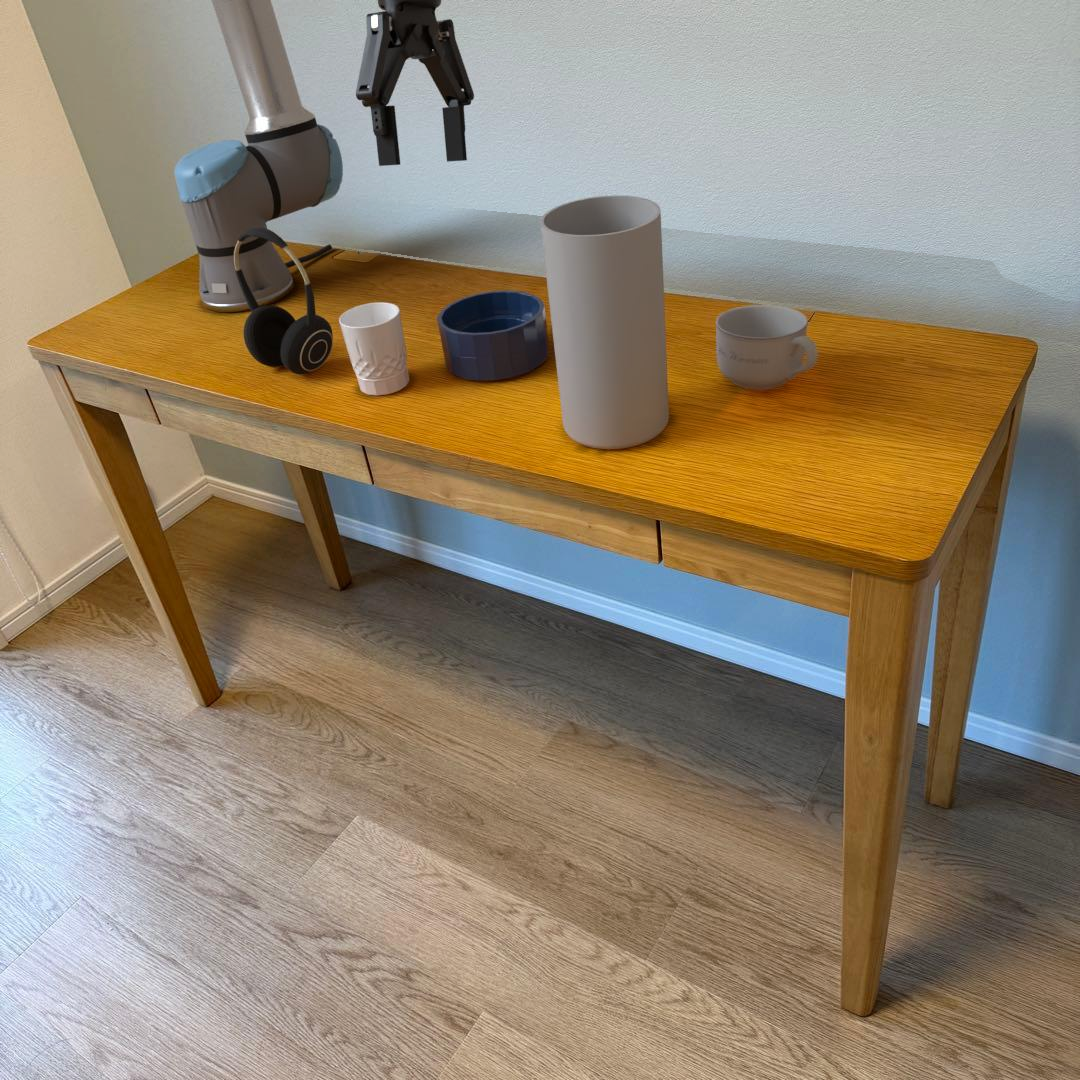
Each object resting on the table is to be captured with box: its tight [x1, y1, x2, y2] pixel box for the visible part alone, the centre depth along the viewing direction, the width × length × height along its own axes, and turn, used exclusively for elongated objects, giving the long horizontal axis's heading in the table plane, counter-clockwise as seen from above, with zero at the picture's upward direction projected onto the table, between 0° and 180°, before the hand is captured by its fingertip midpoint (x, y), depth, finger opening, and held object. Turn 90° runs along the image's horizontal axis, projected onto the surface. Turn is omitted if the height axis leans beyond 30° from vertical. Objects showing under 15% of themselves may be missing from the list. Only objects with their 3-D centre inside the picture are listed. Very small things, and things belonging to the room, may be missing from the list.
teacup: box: [715, 304, 819, 391], centre depth 120 cm, size 14×11×8 cm
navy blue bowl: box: [436, 289, 550, 382], centre depth 135 cm, size 14×14×7 cm
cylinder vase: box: [539, 194, 670, 450], centre depth 111 cm, size 12×12×25 cm
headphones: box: [234, 228, 334, 376], centre depth 136 cm, size 9×15×20 cm, turn 54°
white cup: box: [338, 301, 410, 397], centre depth 131 cm, size 8×8×10 cm
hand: (424, 163), depth 126 cm, fingers open, 13 cm apart
